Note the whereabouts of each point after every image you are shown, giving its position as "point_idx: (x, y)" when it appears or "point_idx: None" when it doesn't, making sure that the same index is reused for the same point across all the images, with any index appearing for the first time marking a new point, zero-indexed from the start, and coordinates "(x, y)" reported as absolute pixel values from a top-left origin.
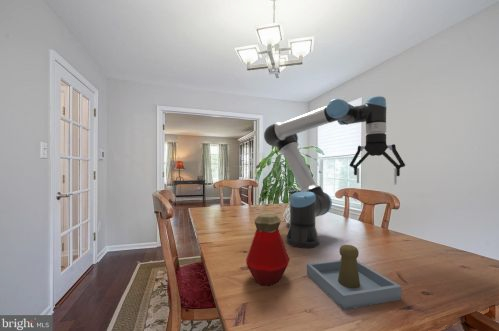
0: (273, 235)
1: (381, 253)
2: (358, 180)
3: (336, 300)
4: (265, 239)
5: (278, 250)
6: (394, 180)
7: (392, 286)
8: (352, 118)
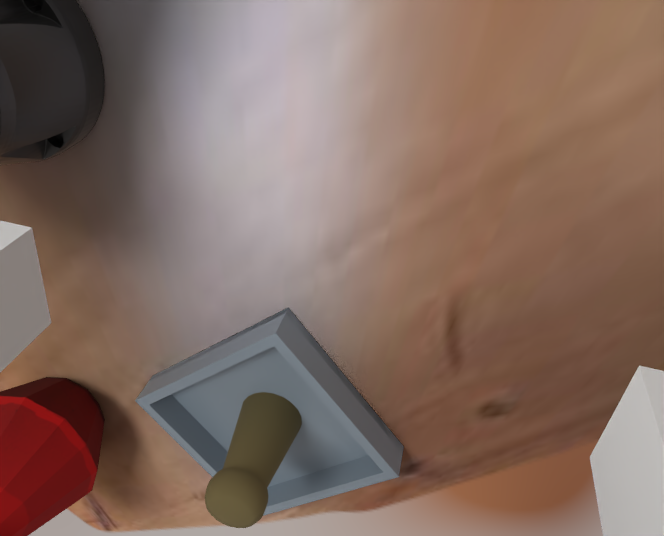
0: None
1: (455, 82)
2: (16, 353)
3: None
4: None
5: (51, 515)
6: (603, 524)
7: (374, 479)
8: None
